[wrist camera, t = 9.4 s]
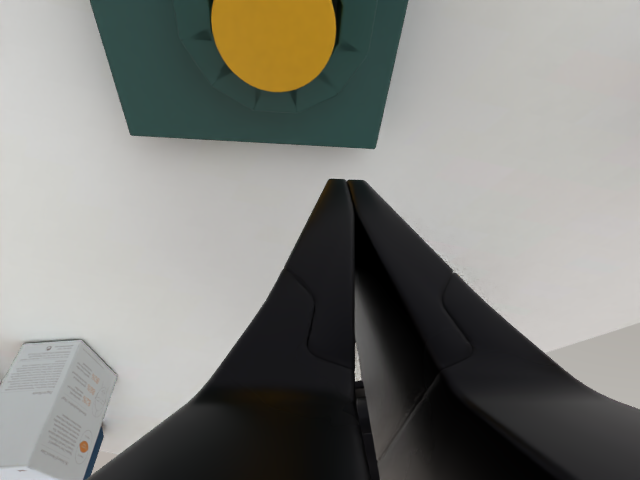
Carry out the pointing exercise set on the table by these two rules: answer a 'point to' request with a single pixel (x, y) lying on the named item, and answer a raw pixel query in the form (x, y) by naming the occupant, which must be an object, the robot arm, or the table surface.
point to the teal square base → (232, 92)
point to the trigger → (274, 40)
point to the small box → (52, 410)
